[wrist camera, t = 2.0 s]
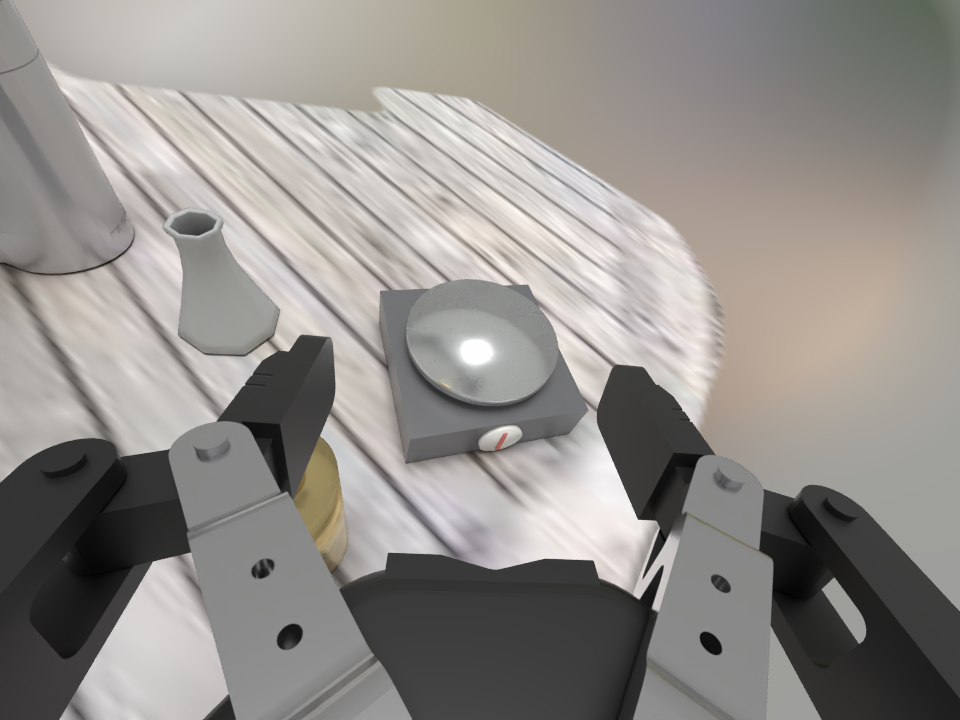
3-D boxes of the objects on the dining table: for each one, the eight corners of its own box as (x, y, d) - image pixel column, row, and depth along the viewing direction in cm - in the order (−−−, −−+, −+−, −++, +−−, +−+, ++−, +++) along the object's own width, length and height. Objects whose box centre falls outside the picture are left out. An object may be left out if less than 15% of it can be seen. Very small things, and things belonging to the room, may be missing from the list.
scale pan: (423, 417, 27) (424, 410, 27) (394, 290, 34) (394, 281, 33) (577, 394, 31) (582, 387, 31) (525, 285, 38) (528, 277, 37)
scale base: (407, 470, 30) (412, 444, 27) (379, 322, 38) (380, 287, 34) (571, 439, 35) (593, 413, 31) (516, 313, 42) (529, 281, 39)
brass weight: (262, 597, 24) (192, 549, 14) (263, 511, 26) (205, 424, 17) (351, 574, 25) (341, 517, 16) (344, 495, 28) (331, 407, 19)
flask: (250, 368, 32) (212, 272, 25) (160, 341, 32) (93, 236, 24) (295, 307, 37) (275, 210, 29) (216, 283, 37) (176, 178, 29)
